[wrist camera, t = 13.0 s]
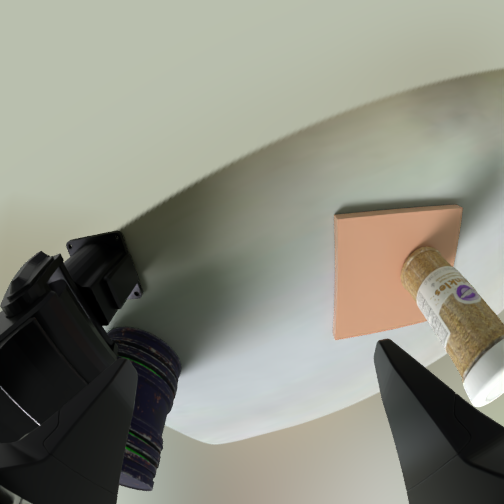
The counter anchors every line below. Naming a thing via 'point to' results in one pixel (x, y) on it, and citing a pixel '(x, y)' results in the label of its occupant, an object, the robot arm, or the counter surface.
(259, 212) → the counter surface
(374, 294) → the terracotta tile
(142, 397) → the storage jar
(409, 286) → the sprinkles bottle
